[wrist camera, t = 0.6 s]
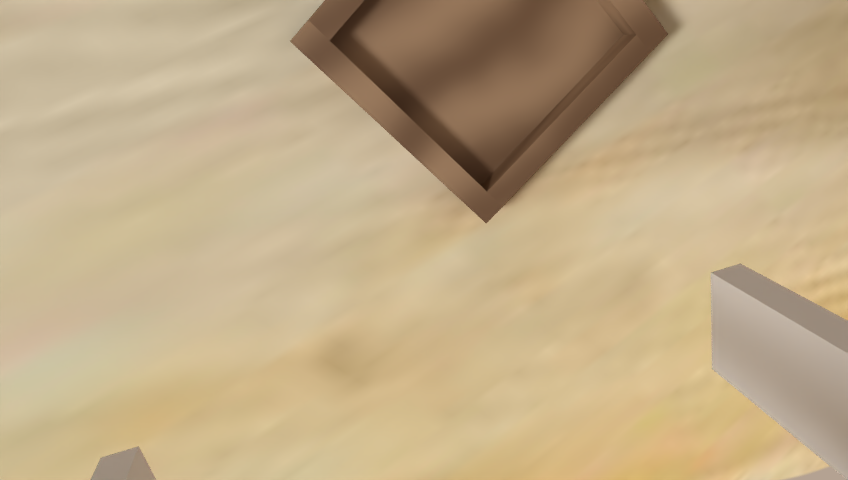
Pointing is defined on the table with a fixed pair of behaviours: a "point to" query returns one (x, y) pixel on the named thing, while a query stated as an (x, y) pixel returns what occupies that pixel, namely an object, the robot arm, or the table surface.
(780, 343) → the robot arm
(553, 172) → the table surface
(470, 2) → the tray
